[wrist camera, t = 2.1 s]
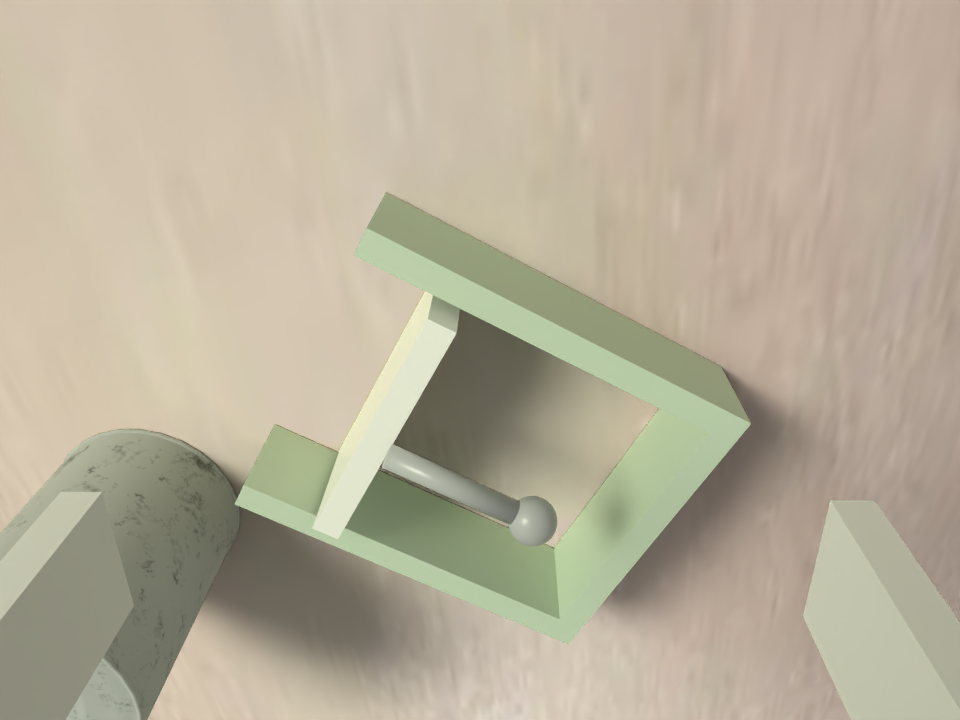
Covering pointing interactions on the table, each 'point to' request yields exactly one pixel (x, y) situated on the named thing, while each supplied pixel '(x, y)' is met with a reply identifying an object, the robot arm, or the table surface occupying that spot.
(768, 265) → the table surface
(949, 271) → the table surface
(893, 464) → the table surface
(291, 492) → the pale green open box
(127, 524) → the grey speckled cylinder
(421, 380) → the pusher
